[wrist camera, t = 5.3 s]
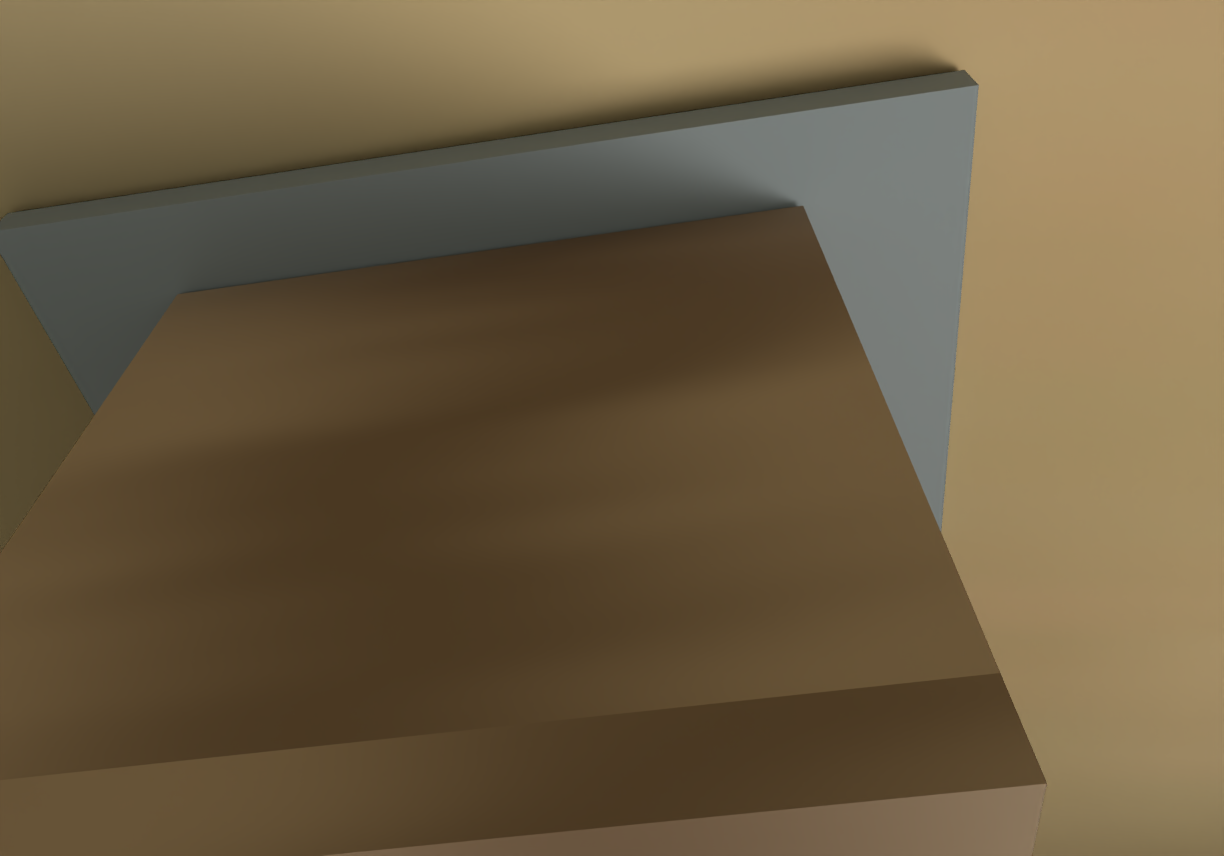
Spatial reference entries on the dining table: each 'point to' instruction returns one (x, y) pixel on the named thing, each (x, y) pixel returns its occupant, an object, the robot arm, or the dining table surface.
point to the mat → (559, 225)
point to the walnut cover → (504, 577)
